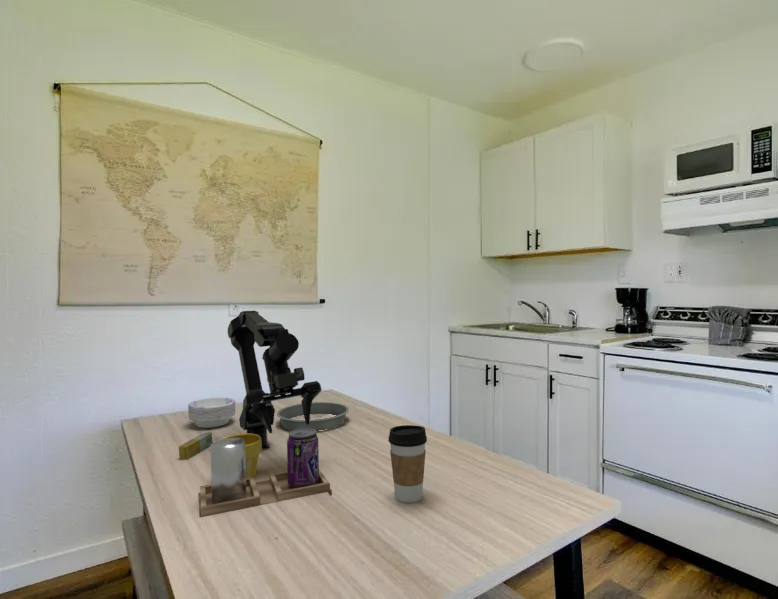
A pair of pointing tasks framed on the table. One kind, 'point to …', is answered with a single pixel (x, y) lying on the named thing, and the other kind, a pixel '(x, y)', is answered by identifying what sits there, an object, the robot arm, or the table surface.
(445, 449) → the table surface
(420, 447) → the coffee cup
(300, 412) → the cake pan
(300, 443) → the beverage can
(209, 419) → the paper bowls
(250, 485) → the wooden tray
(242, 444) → the seated billet
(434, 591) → the table surface
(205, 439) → the medication box
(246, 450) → the plant pot
